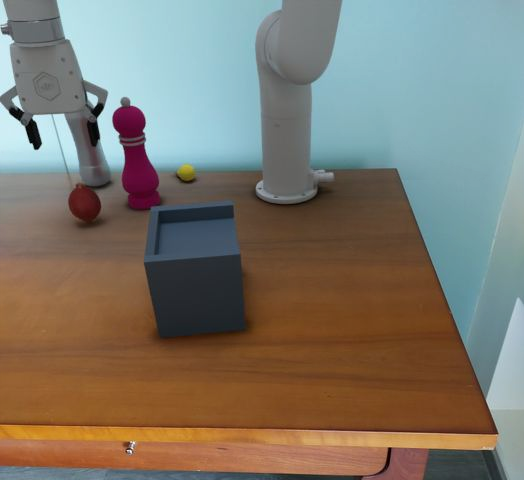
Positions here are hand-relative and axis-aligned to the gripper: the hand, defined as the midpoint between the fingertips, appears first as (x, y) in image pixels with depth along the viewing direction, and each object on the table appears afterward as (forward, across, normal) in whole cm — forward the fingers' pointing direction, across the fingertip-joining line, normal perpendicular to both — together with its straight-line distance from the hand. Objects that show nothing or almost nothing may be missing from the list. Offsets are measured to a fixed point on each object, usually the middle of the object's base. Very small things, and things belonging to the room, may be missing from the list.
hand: (66, 145), depth 91 cm
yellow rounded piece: (+14, +19, +18) cm, 30 cm away
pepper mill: (+14, +11, +7) cm, 19 cm away
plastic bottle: (+15, 0, +19) cm, 24 cm away
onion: (+15, +1, 0) cm, 15 cm away
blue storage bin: (+14, +22, -30) cm, 40 cm away
